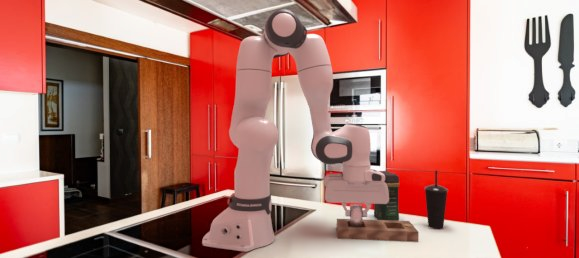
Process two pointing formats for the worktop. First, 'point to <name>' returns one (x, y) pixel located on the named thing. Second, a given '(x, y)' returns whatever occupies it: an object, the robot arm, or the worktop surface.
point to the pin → (355, 215)
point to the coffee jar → (392, 207)
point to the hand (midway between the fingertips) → (356, 216)
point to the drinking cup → (436, 204)
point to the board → (378, 230)
